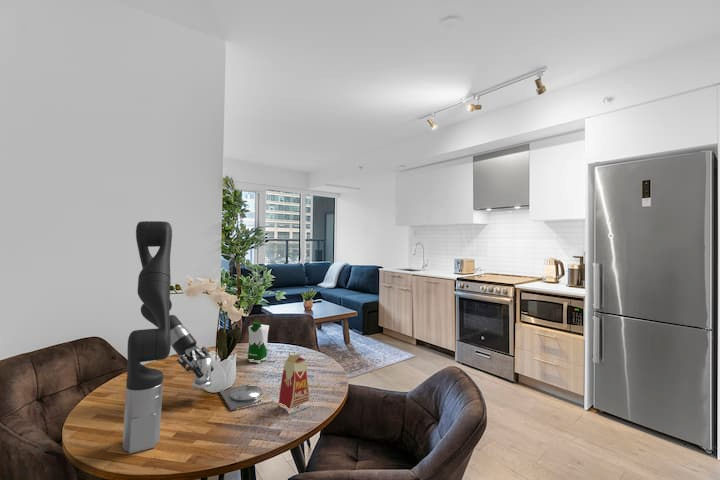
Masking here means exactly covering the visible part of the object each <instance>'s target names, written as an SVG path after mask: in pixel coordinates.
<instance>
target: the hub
mask: <svg viewBox="0 0 720 480" xmlns="http://www.w3.org/2000/svg"><path fill="white" fill-rule="evenodd" d="M210 356H211V355H210ZM210 356H201V357H198V358H196V363H197V365H198V367H199V368H200V369H201V371H202V372H203V373H204V375H203V376H202V377H201V378H198V377H197V376H196V374H195V373H194V380H193V381H192V387H193V388H195V389H203V388H208V387H210V386H212V383H213V382H212V381H213V379H211V376H212V375H211V374H212V372H211V365H212V359H213V357H212V356H211V357H210Z"/></svg>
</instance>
